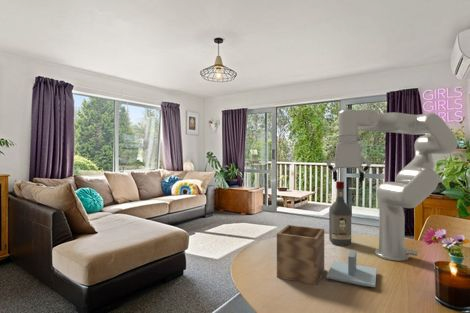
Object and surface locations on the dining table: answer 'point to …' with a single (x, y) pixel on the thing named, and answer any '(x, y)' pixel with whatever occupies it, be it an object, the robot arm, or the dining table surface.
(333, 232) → the liquor
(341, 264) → the lid
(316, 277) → the crate
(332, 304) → the dining table surface
